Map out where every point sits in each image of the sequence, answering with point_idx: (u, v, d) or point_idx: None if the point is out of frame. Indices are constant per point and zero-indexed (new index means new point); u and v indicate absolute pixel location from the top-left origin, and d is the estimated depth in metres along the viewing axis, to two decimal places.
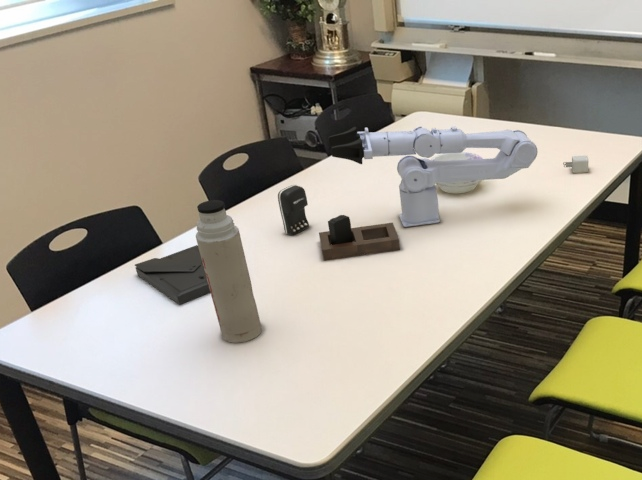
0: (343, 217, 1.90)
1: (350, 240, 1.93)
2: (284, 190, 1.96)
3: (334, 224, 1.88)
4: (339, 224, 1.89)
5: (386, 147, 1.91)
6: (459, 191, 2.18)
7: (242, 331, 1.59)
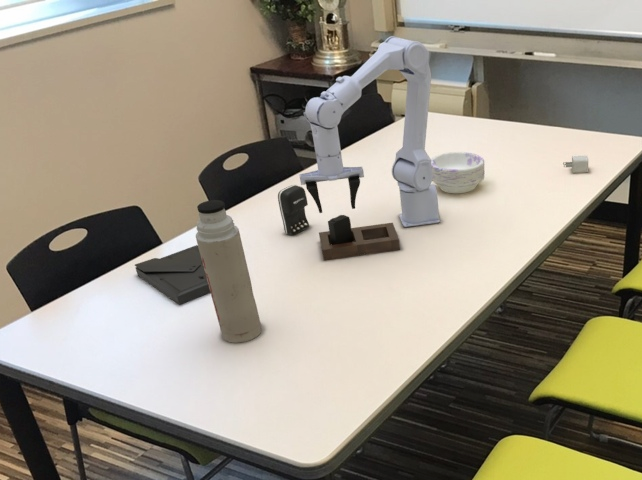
0: (343, 217, 1.90)
1: (350, 240, 1.93)
2: (284, 190, 1.96)
3: (334, 224, 1.88)
4: (339, 224, 1.89)
5: None
6: (459, 191, 2.18)
7: (242, 331, 1.59)
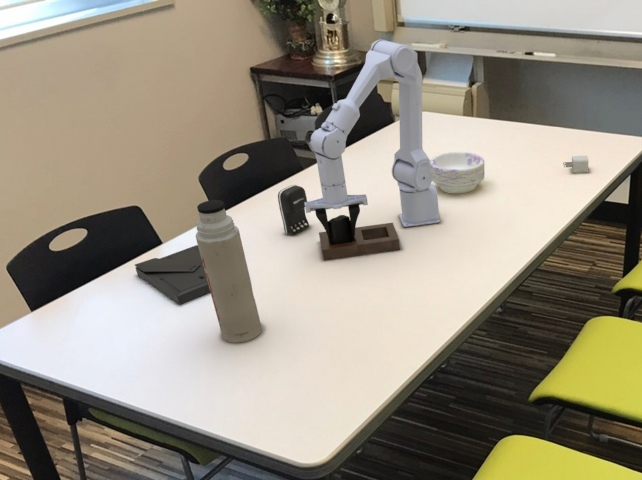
0: (343, 217, 1.90)
1: (350, 240, 1.93)
2: (284, 190, 1.96)
3: (334, 224, 1.88)
4: (339, 224, 1.89)
5: (345, 182, 1.85)
6: (459, 191, 2.18)
7: (242, 331, 1.59)
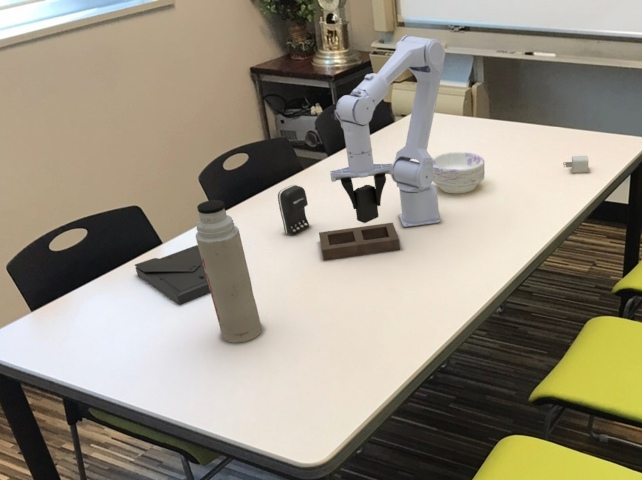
0: (369, 187, 1.87)
1: (375, 211, 1.91)
2: (284, 190, 1.96)
3: (360, 193, 1.85)
4: (364, 194, 1.86)
5: (371, 150, 1.82)
6: (459, 191, 2.18)
7: (242, 331, 1.59)
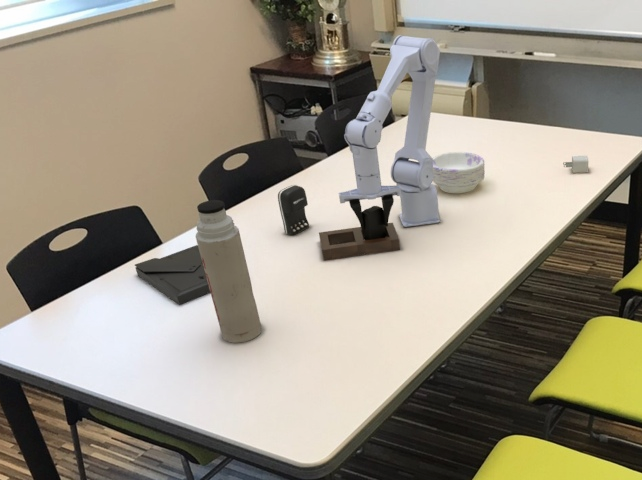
0: (376, 208, 1.90)
1: (383, 231, 1.94)
2: (284, 190, 1.96)
3: (368, 215, 1.89)
4: (372, 215, 1.90)
5: (379, 173, 1.86)
6: (459, 191, 2.18)
7: (242, 331, 1.59)
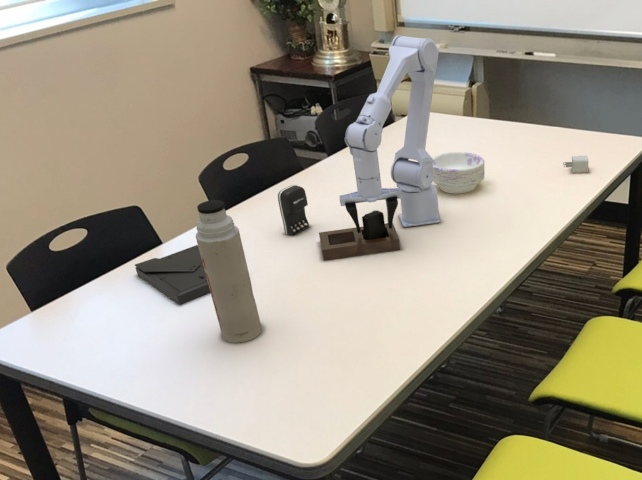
0: (377, 213, 1.91)
1: (383, 236, 1.95)
2: (284, 190, 1.96)
3: (368, 219, 1.89)
4: (373, 220, 1.90)
5: None
6: (459, 191, 2.18)
7: (242, 331, 1.59)
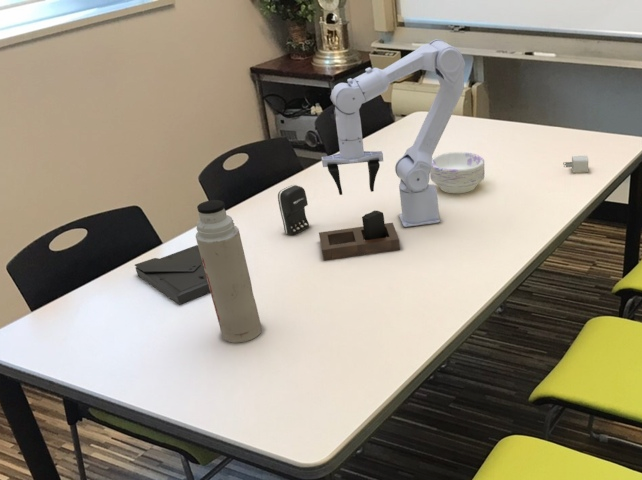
0: (377, 213, 1.91)
1: (383, 236, 1.95)
2: (284, 190, 1.96)
3: (368, 219, 1.89)
4: (373, 220, 1.90)
5: None
6: (459, 191, 2.18)
7: (242, 331, 1.59)
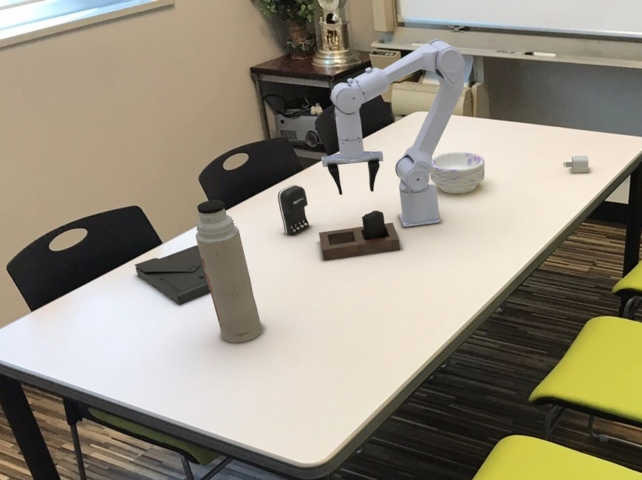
0: (377, 213, 1.91)
1: (383, 236, 1.95)
2: (284, 190, 1.96)
3: (368, 219, 1.89)
4: (373, 220, 1.90)
5: None
6: (459, 191, 2.18)
7: (242, 331, 1.59)
